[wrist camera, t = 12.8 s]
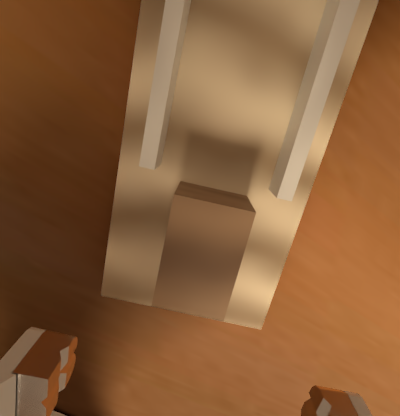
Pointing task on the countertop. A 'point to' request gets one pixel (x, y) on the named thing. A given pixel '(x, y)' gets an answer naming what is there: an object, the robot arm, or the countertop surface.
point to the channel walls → (304, 106)
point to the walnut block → (202, 250)
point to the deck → (223, 137)
